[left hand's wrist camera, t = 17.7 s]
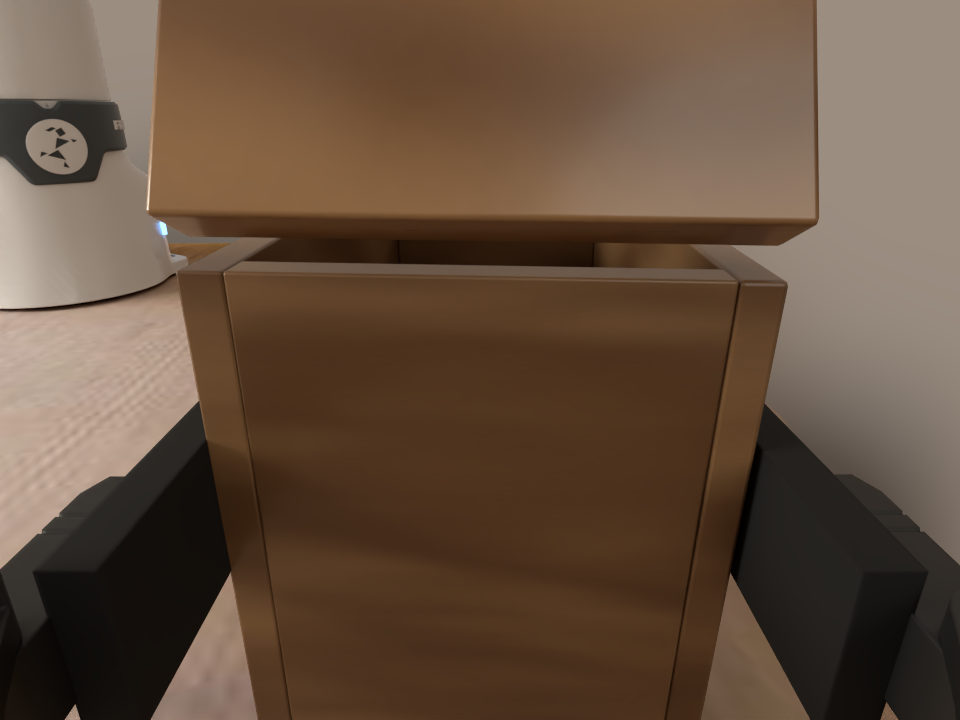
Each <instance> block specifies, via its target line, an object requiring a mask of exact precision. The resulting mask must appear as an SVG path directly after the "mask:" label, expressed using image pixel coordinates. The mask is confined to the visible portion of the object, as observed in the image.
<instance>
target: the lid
mask: <svg viewBox="0 0 960 720" xmlns="http://www.w3.org/2000/svg"><path fill="white" fill-rule="evenodd" d="M817 89H818V88H817V1H816V0H159V5H158V21H157V37H156V53H155V69H154V85H153V101H152V117H151V132H150V148H149V164H148V180H147V196H146V211H147V214H148V215H149V216H151V217H153V218H155V219H157V220H159V221H161V222H162V223H164V224H166V225H168V226H170V227H172V228H174V229H176V230H178V231H179V232H181V233H183V234H185V235H187V236H191V237H254V238H318V239H382V240H446V241H510V242H574V243H638V244H702V245H766V246H778V245H781V244H783V243H785V242H786V241H788V240H790V239H792V238H794V237H795V236H797V235H799V234H801V233H802V232H804V231H806V230H808V229H809V228H811V227H813V226H815V225H816V224H817V222H818V219H819V176H818V90H817Z"/></svg>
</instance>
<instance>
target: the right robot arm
mask: <svg viewBox="0 0 960 720" xmlns="http://www.w3.org/2000/svg"><path fill="white" fill-rule="evenodd" d="M101 101H111V98H110V93H109V88H108V83H107V78H106V73H105V68H104V64H103V59H102V54H101V49H100V44H99V39H98V34H97V29H96V24H95V19H94V14H93V9H92V6H91V3H90V1H89V0H0V309H21V308H39V307H51V306H60V305H69V304H76V303H83V302H90V301H96V300H101V299H106V298H111V297H116V296H121V295H125V294H129V293H133V292H136V291H140V290H143V289H146V288H149V287H152V286H154V285H157V284H159V283H161V282H162V281H164V280H165V279H167V278H168V277H169V276H170V275H172V274H174V273H176V272H177V271H178V270H180V269H182V268H184V267H186V266H188V265H189V263H188V260H187V257H186V256H182V255H176V254H171V253H170V250H169V246H168V242H167V238H166V234H167V229H166V224H164V223H162V222H161V221H159V220H157V219H155V218H153V217H151V216H149V215H148V214H147V211H146V196H147V180H148V175H146V174H145V173H144V172H143V171H141V170H139V169H138V168H136V167H135V166H134V165H133V164H132V163H131V162H130V161H129V159H128V158H127V157H126V155H125V154H124V152H123V150H124V149H125V148H126V147H127V144H126V139H125V134H124V129H125V128H124V123H123V120H121V116H120V112H119V108H118V105H117V104H116V103H114V102H101Z"/></svg>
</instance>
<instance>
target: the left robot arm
mask: <svg viewBox="0 0 960 720" xmlns="http://www.w3.org/2000/svg"><path fill="white" fill-rule="evenodd" d="M230 572H231V565H230V560H229V555H228V549H227V544H226V539H225V533H224V528H223V523H222V518H221V512H220V507H219V502H218V497H217V491H216V486H215V481H214V475H213V470H212V465H211V460H210V454H209V449H208V444H207V440H206V435H205V429H204V424H203V419H202V413H201V408H200V402H199V401H198V402H197V403H196V405H195V406H194V407H193V408H192V409H191V410H190V411H189V412H188V413H187V414H186V415H185V416H184V417H183V418H182V419H181V420H180V421H179V422H178V423H177V424H176V425H175V426H174V427H173V428H172V429H171V430H170V431H169V432H168V433H167V434H166V435H165V436H164V437H163V438H162V439H161V440H160V441H159V442H158V443H157V444H156V445H155V446H154V447H153V448H152V450H151V451H150V452H149V453H148V454H147V455H146V456H145V457H144V458H143V459H142V460H141V461H140V462H139V463H138V464H137V465H136V466H135V467H134V468H133V469H132V470H131V471H130V472H129V473H128V474H127V475H126V476H125V477H108V478H107V479H105V480H103V481H101V482H100V483H98V484H96V485H94V486H93V487H91V488H89V489H87V490H85V491H84V492H82V493H80V494H79V495H78V496H77V497H76V498H75V499H74V500H73V501H72V502H71V503H70V504H69V505H68V506H67V507H66V508H64V509H63V510H62V511H61V512H60V515H59V517H55V518H54V519H53V520H52V521H51V522H50V523H49V524H48V525H47V526H46V527H44V528H43V529H42V534H37V535H36V536H35V537H34V538H33V539H32V540H31V541H30V542H29V543H28V544H27V545H26V546H24V547H23V548H22V549H21V550H20V551H19V552H18V553H17V554H16V555H15V556H14V557H13V558H12V559H11V560H10V561H9V562H8V563H7V564H6V565H4V566H3V567H2V568H1V569H0V720H65V718H66V717H67V715H68V714H69V712H70V711H71V709H72V708H73V707H74V705H75V704H76V707H77V710H78V713H79V716H80V719H81V720H150V719H151V718H152V716H153V714H154V712H155V710H156V708H157V707H158V705H159V703H160V701H161V699H162V697H163V695H164V694H165V692H166V690H167V688H168V686H169V684H170V683H171V681H172V679H173V677H174V675H175V673H176V672H177V670H178V668H179V666H180V664H181V662H182V661H183V659H184V657H185V655H186V653H187V651H188V650H189V648H190V646H191V644H192V642H193V640H194V638H195V637H196V635H197V633H198V631H199V629H200V627H201V626H202V624H203V622H204V620H205V618H206V616H207V615H208V613H209V611H210V609H211V607H212V605H213V604H214V602H215V600H216V598H217V596H218V594H219V592H220V591H221V589H222V587H223V585H224V583H225V581H226V580H227V578H228V576H229V574H230ZM730 572H731V574H732V576H733V578H734V580H735V582H736V584H737V585H738V587H739V589H740V591H741V593H742V595H743V596H744V598H745V600H746V602H747V604H748V606H749V607H750V609H751V611H752V613H753V615H754V617H755V618H756V620H757V622H758V624H759V626H760V628H761V630H762V631H763V633H764V635H765V637H766V639H767V641H768V642H769V644H770V646H771V648H772V650H773V652H774V653H775V655H776V657H777V659H778V661H779V663H780V664H781V666H782V668H783V670H784V672H785V674H786V676H787V677H788V679H789V681H790V683H791V685H792V687H793V688H794V690H795V692H796V694H797V696H798V698H799V699H800V701H801V703H802V705H803V707H804V709H805V710H806V712H807V714H808V716H809V718H810V720H880V719H881V716H882V713H883V710H884V707H885V704H886V702H887V703H888V705H889V706H890V708H891V709H892V711H893V712H894V714H895V715H896V716H897V718H898V719H899V720H960V565H959V564H958V563H957V562H956V561H955V560H953V559H952V558H951V557H950V556H949V555H948V554H947V553H946V552H945V551H944V550H943V549H942V548H941V547H940V546H939V545H938V544H937V543H935V542H934V541H933V540H932V539H931V538H930V537H929V536H928V535H927V534H926V533H925V532H920V528H919V527H918V526H917V525H916V524H915V523H914V522H913V521H912V520H911V519H910V518H909V517H908V516H907V515H903V514H902V510H900V509H899V508H898V507H897V506H896V505H895V504H894V503H893V502H892V501H891V500H890V499H889V498H888V497H887V496H886V495H885V494H884V493H882V492H881V491H880V490H878V489H876V488H874V487H873V486H871V485H869V484H867V483H865V482H864V481H862V480H860V479H858V478H857V477H855V476H853V475H834V474H833V473H832V472H831V471H830V470H829V469H828V468H827V467H826V466H825V465H824V464H823V463H822V462H821V461H820V460H819V459H818V458H817V457H816V456H815V455H814V454H813V453H812V452H811V451H810V450H809V449H808V448H807V447H806V445H805V444H804V443H803V442H802V441H801V440H800V439H799V438H798V437H797V436H796V435H795V434H794V433H793V432H792V431H791V430H790V429H789V428H788V427H787V426H786V425H785V424H784V423H783V422H782V421H781V420H780V419H779V418H778V417H777V416H776V415H775V414H774V413H773V412H772V411H771V410H770V409H769V408H768V407H767V406H766V405H765V404H764V407H763V412H762V417H761V422H760V427H759V432H758V437H757V442H756V447H755V452H754V457H753V462H752V467H751V472H750V477H749V482H748V487H747V492H746V497H745V502H744V507H743V512H742V517H741V522H740V526H739V531H738V536H737V541H736V546H735V551H734V556H733V561H732V566H731V571H730Z"/></svg>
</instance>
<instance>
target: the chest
mask: <svg viewBox="0 0 960 720" xmlns="http://www.w3.org/2000/svg"><path fill="white" fill-rule="evenodd" d="M176 277H177V283H178V288H179V294H180V299H181V305H182V310H183V315H184V321H185V326H186V332H187V337H188V343H189V348H190V353H191V359H192V364H193V370H194V375H195V381H196V386H197V391H198V397H199V402H200V408H201V413H202V419H203V424H204V429H205V435H206V440H207V444H208V449H209V454H210V460H211V465H212V470H213V475H214V481H215V486H216V491H217V497H218V502H219V507H220V512H221V518H222V523H223V528H224V533H225V539H226V544H227V549H228V555H229V560H230V565H231V576H232V581H233V587H234V592H235V598H236V603H237V609H238V614H239V619H240V625H241V630H242V636H243V641H244V647H245V652H246V657H247V663H248V668H249V674H250V679H251V685H252V690H253V695H254V701H255V706H256V712H257V717H258V720H701V715H702V710H703V705H704V700H705V695H706V690H707V685H708V680H709V675H710V670H711V665H712V660H713V655H714V650H715V646H716V641H717V636H718V631H719V626H720V621H721V616H722V611H723V606H724V601H725V596H726V591H727V586H728V581H729V576H730V571H731V566H732V561H733V556H734V551H735V546H736V541H737V536H738V531H739V526H740V522H741V517H742V512H743V507H744V502H745V497H746V492H747V487H748V482H749V477H750V472H751V467H752V462H753V457H754V452H755V447H756V442H757V437H758V432H759V427H760V422H761V417H762V412H763V407H764V402H765V397H766V392H767V388H768V383H769V378H770V373H771V368H772V363H773V358H774V353H775V348H776V343H777V338H778V333H779V328H780V323H781V318H782V313H783V308H784V303H785V298H786V293H787V288H788V285H787V282H786V281H784V280H783V279H781V278H780V277H778V276H776V275H775V274H774V273H772V272H770V271H769V270H767V269H766V268H764V267H763V266H761V265H760V264H758V263H757V262H755V261H754V260H752V259H751V258H749V257H747V256H746V255H744V254H743V253H741V252H740V251H738V250H737V249H735V248H734V247H732V246H731V245H702V244H638V243H574V242H510V241H446V240H382V239H318V238H254V237H243V238H241V239H239V240H237V241H235V242H233V243H231V244H229V245H227V246H225V247H223V248H221V249H219V250H217V251H215V252H213V253H211V254H209V255H207V256H205V257H204V258H202V259H200V260H198V261H196V262H194V263H192V264H190V265H188V266H186V267H184V268H182V269H180V270H178V271H177V272H176Z"/></svg>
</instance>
